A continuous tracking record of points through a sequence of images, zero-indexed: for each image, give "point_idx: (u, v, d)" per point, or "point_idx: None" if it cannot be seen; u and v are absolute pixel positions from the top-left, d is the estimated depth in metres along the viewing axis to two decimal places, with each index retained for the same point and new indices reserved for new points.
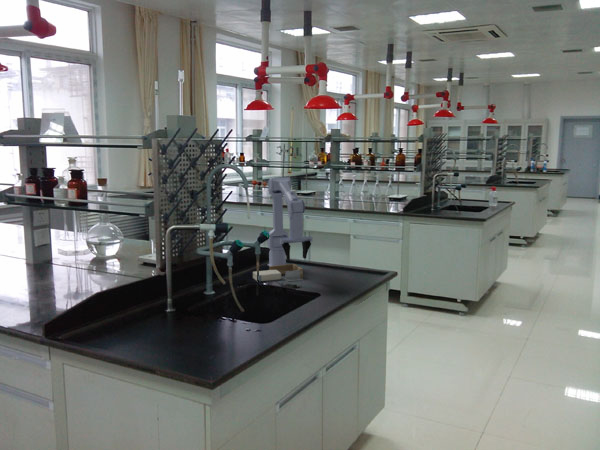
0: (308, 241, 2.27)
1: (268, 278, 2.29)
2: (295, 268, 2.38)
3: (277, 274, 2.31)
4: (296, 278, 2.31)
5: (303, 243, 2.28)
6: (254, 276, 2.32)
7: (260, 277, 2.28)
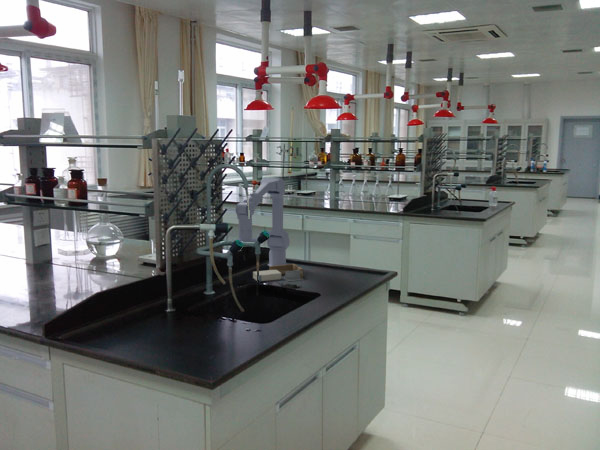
0: None
1: (268, 278, 2.29)
2: (295, 268, 2.38)
3: (277, 274, 2.31)
4: (296, 278, 2.31)
5: None
6: (254, 276, 2.32)
7: (260, 277, 2.28)
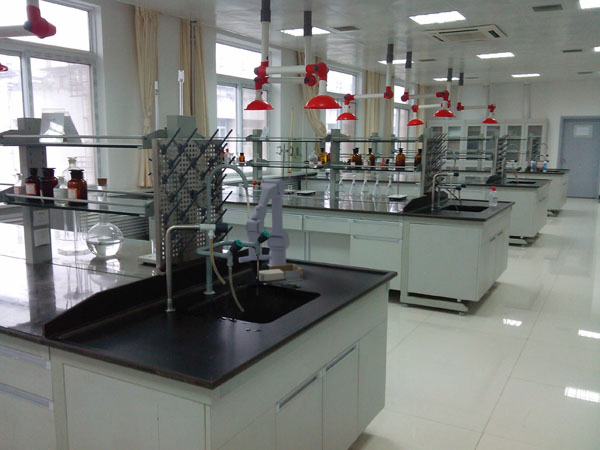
0: (260, 260, 2.30)
1: (271, 277, 2.30)
2: (295, 268, 2.38)
3: (280, 273, 2.31)
4: (296, 278, 2.31)
5: None
6: None
7: (263, 276, 2.28)
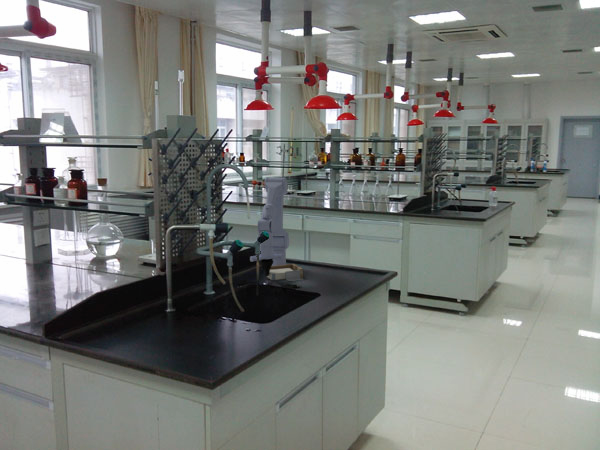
0: (271, 259, 2.31)
1: (282, 276, 2.32)
2: (295, 268, 2.38)
3: None
4: (296, 278, 2.31)
5: None
6: None
7: (274, 275, 2.30)
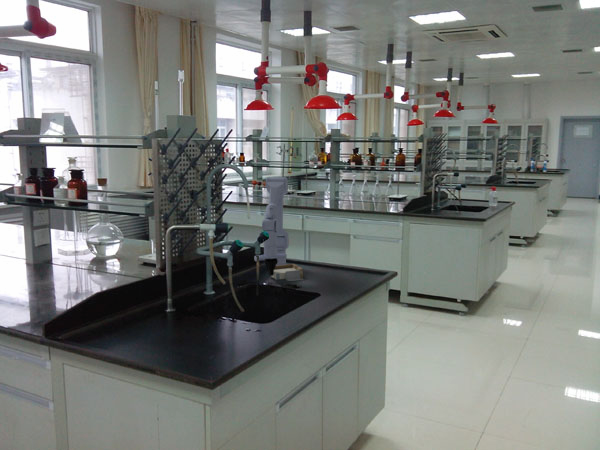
0: (275, 259, 2.32)
1: None
2: (295, 268, 2.38)
3: None
4: (296, 278, 2.31)
5: None
6: None
7: (278, 275, 2.31)
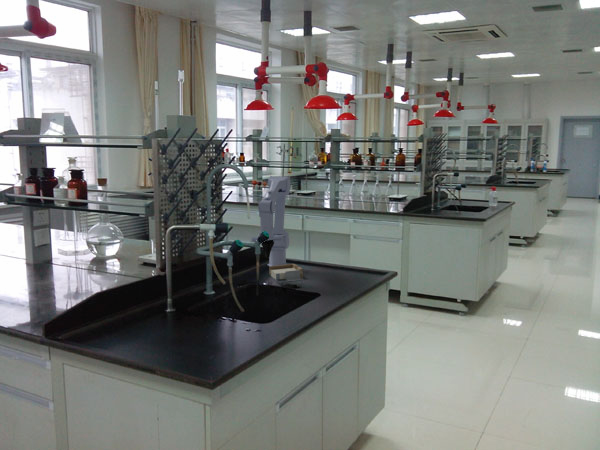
0: (271, 240, 2.32)
1: None
2: (295, 268, 2.38)
3: None
4: (296, 278, 2.31)
5: (267, 242, 2.33)
6: (272, 274, 2.35)
7: (278, 275, 2.31)
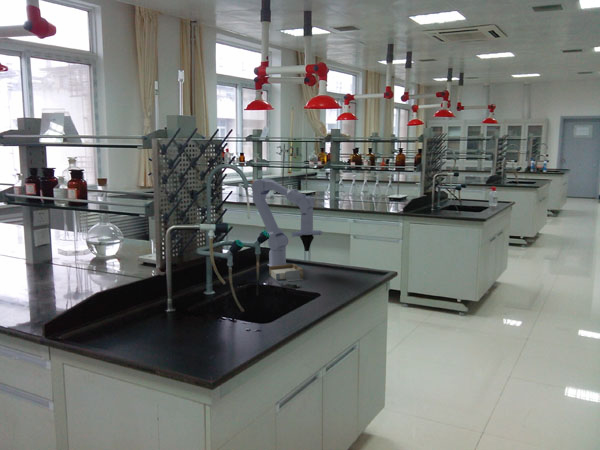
0: (311, 235, 2.44)
1: None
2: (295, 268, 2.38)
3: None
4: (296, 278, 2.31)
5: None
6: (272, 274, 2.35)
7: (278, 275, 2.31)
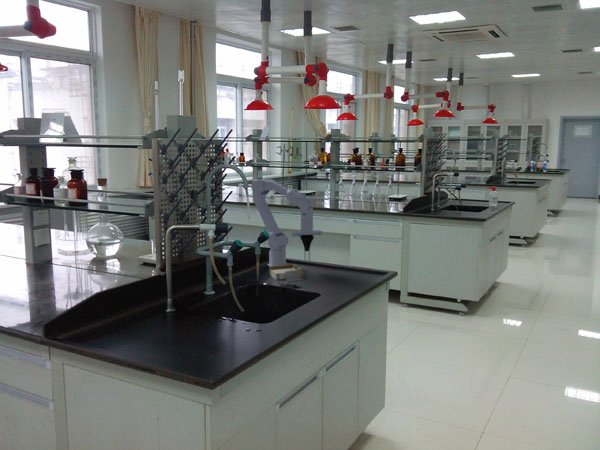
0: (311, 235, 2.44)
1: None
2: (295, 268, 2.38)
3: None
4: (296, 278, 2.31)
5: None
6: (272, 274, 2.35)
7: (278, 275, 2.31)
